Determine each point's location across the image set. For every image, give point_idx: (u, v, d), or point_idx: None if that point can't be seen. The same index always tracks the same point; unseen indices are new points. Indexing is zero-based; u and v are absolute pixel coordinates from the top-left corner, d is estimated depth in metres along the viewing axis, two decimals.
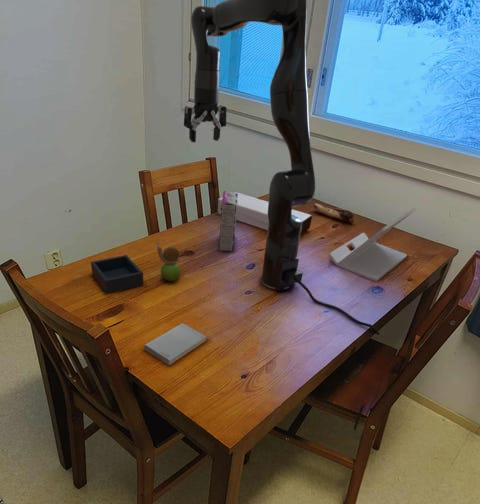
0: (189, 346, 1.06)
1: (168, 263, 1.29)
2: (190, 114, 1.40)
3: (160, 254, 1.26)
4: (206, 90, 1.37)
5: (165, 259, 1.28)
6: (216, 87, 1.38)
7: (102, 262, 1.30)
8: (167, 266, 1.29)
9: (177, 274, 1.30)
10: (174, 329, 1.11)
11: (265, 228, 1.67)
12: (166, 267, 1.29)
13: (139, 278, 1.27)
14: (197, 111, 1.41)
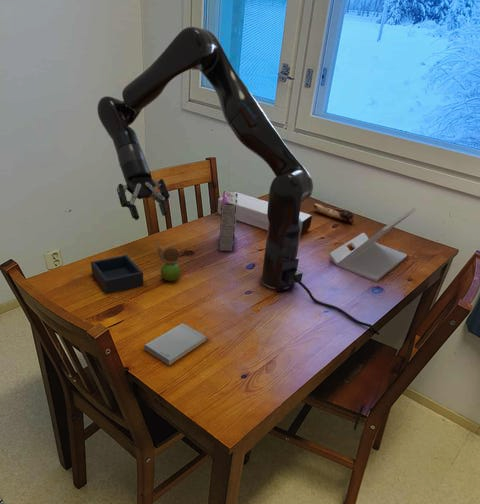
0: (189, 346, 1.06)
1: (168, 263, 1.29)
2: (122, 189, 1.28)
3: (160, 254, 1.26)
4: (130, 161, 1.28)
5: (165, 259, 1.28)
6: (140, 157, 1.30)
7: (102, 262, 1.30)
8: (167, 266, 1.29)
9: (177, 274, 1.30)
10: (174, 329, 1.11)
11: (265, 228, 1.67)
12: (166, 267, 1.29)
13: (139, 278, 1.27)
14: (130, 186, 1.29)
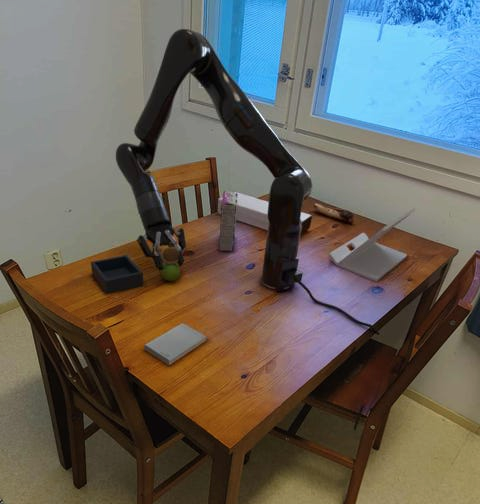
0: (189, 346, 1.06)
1: (168, 263, 1.29)
2: (144, 241, 1.25)
3: (160, 254, 1.26)
4: (150, 210, 1.26)
5: (165, 259, 1.28)
6: (160, 205, 1.27)
7: (102, 262, 1.30)
8: (167, 266, 1.29)
9: (177, 274, 1.30)
10: (174, 329, 1.11)
11: (265, 228, 1.66)
12: (165, 268, 1.29)
13: (139, 278, 1.27)
14: (149, 235, 1.26)
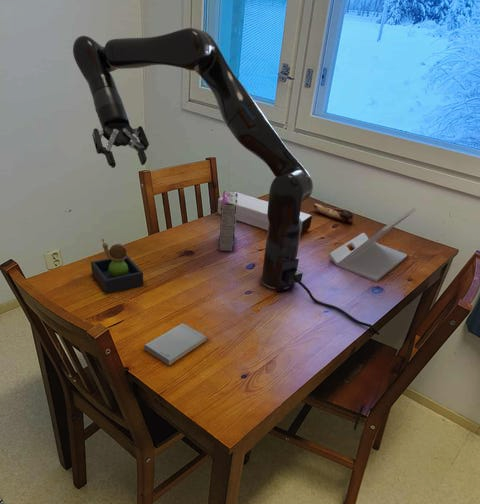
0: (189, 346, 1.06)
1: (115, 261, 1.26)
2: (98, 134, 1.21)
3: (106, 251, 1.24)
4: (106, 105, 1.21)
5: (112, 257, 1.25)
6: (117, 101, 1.23)
7: (102, 262, 1.30)
8: (114, 263, 1.26)
9: (125, 272, 1.27)
10: (174, 329, 1.11)
11: (265, 228, 1.66)
12: (112, 265, 1.26)
13: (139, 278, 1.27)
14: (106, 132, 1.22)
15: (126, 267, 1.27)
